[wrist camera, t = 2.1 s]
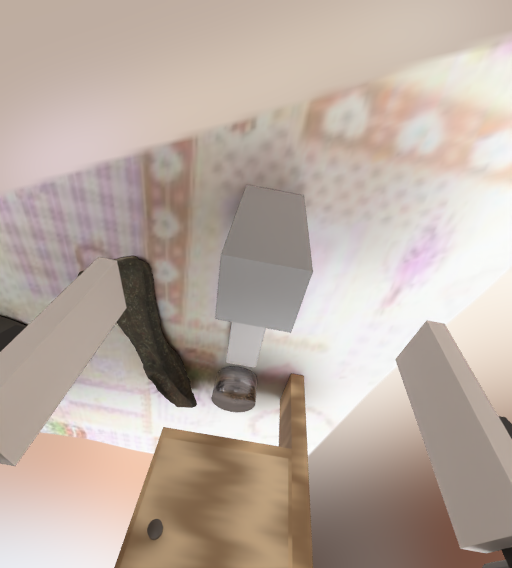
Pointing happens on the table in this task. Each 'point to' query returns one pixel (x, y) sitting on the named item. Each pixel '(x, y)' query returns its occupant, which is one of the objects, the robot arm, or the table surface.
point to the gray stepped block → (263, 270)
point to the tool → (151, 333)
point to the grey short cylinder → (235, 389)
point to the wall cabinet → (226, 499)
